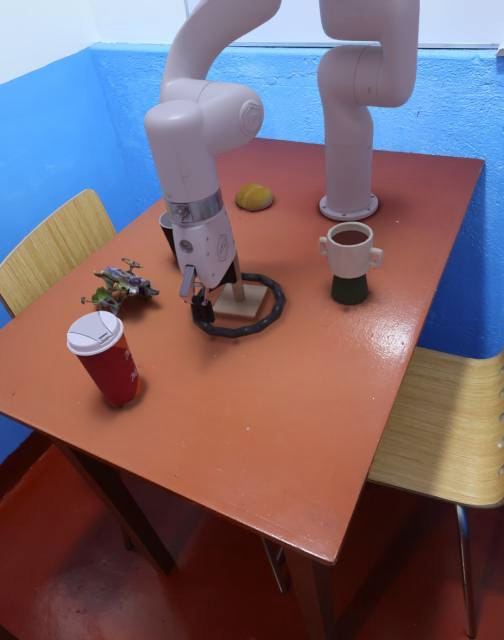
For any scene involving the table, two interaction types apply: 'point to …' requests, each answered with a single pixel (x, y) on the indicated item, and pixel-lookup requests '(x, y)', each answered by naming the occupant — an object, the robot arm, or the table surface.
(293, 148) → the table surface
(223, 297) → the post
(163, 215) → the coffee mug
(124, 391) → the paper cup
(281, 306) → the ring
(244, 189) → the bread roll
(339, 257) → the white handled cup
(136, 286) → the passion flower
